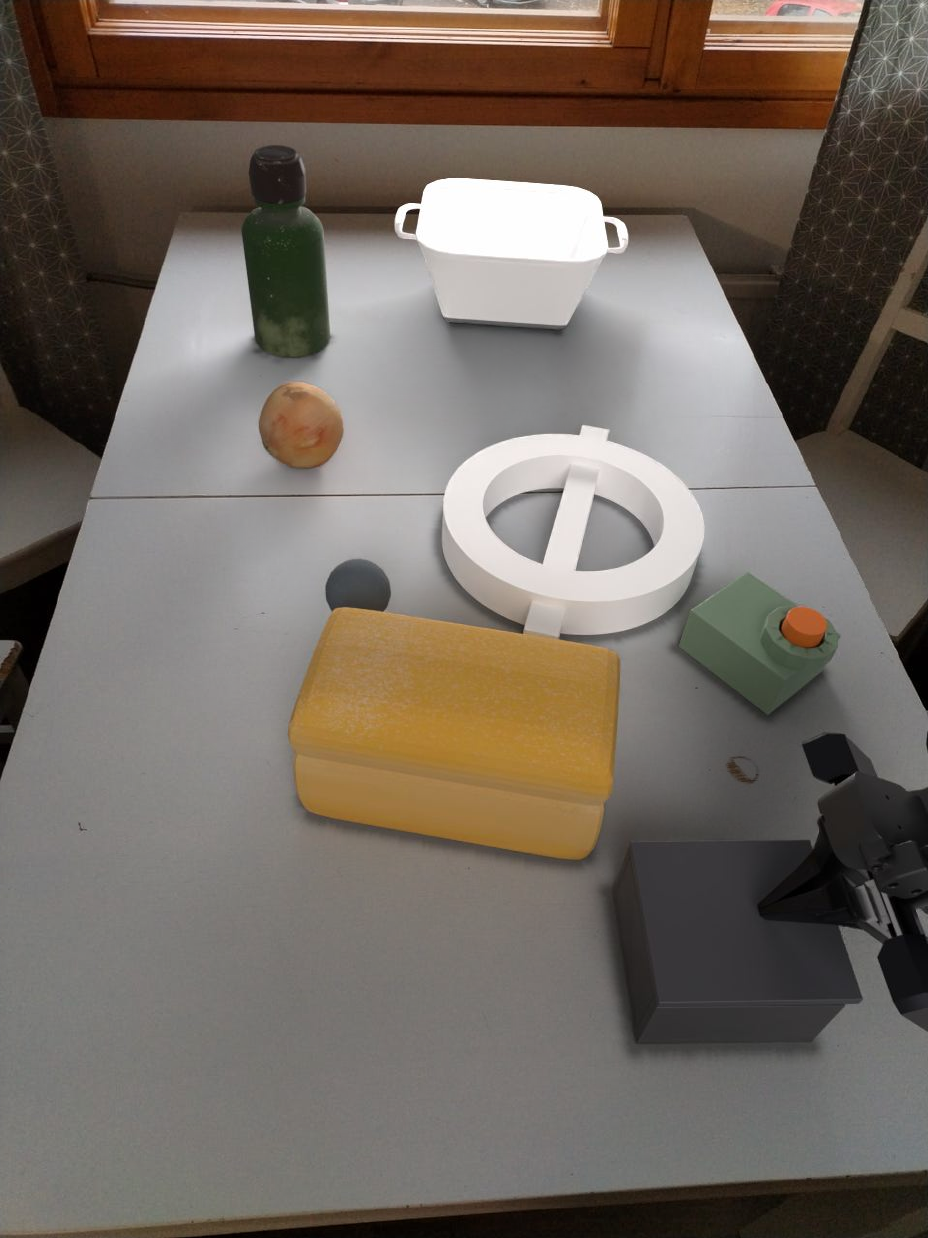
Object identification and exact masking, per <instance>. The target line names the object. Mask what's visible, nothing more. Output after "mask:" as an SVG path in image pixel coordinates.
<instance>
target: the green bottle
mask: <svg viewBox="0 0 928 1238" xmlns="http://www.w3.org/2000/svg"><path fill="white" fill-rule="evenodd" d="M306 172H307V171H306V168H305V165H304V162H303V158H302V157H301V155H300V154H298V153H297V150H295V149H294V148H292V147H290V146H288V145H287V146H286V145H282V144H281V145H280V144H279V145H278V144H274V145H273V144H271V145H263V146H260V147H258V148H256V149H255V150H254V152H253V153H252V155H251V157H250V161H249V169H248V177H249V178H248V179H249V184H250V190H251V195H252V196H253V199H254V204H255V205H256V206H258V207H257V208H254V209H253V210H251V211H250V212H249V214H248V215H247V216H245V219H244V221H243V223H242V225H241V226H242V227H241V231H240V232H241V238H242V247H243V254H244V262H245V269H246V277H247V279H246V280H247V285H248V293H249V301H250V302H249V303H250V309H251V310H250V311H251V317H252V326H253V333H254V339H255V344H256V345H257V346H258V347H259V348H260V349H261V351H264V352H265V353H267V354H270V355H272V356H275V357H280V358H292V359H294V358H296V359H297V358H303V357H307V356H312V355H314V354H317V353H319V352H320V351H321V350H323V349H324V348H326V347H327V346H328V345H329V343H330V339H331V329H330V328H331V327H330V312H329V311H330V310H329V297H328V280H327V279H328V277H327V263H326V247H325V245H326V244H325V234H324V233H325V231H324V226H323V224H322V222H321V219H319V218H318V217H317V215H316V214H314V212H312V211H311V209H309V208H307V207H305V206H303V205H304V204H305V203H306V194H307V178H306V177H307V176H306Z"/></svg>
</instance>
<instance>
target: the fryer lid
mask: <svg viewBox="0 0 928 1238" xmlns="http://www.w3.org/2000/svg"><path fill="white" fill-rule="evenodd" d="M628 847H629V852H630V858H631V863H632V869H633V875H634V880H635V886H636V892H637V898H638V903H639V909H640V915H641V920H642V926H643V932H644V938H645V943H646V949H647V955H648V960H649V966H650V972H651V978H652V983H653V989H654V995H655V1001H656V1006H657V1007H705V1006H764V1005H823V1004H845V1005H859V1004H860V1003H862V1001H863V1000H864V997H863V995H862V991H861V989H860V987H859V983H858V980H857V976H856V974H855V971H854V967H853V965H852V962H851V959H850V956H849V953H848V950H847V947H846V944H845V941H844V938H843V935H842V931H841V929H840V926H837V925H829V924H815V923H800V922H785V921H770V920H765V919H763V918H762V917H760V915H759V911H758V908H757V904H758V903H759V902H760V901H761V900H763V899H764V898H765V897H766V896H767V895H768V894H769V893H770V892H771V891H772V890H773V889H775V888H776V887H777V886H778V885H779V884H780V883H781V882H782V881H783V880H784V879H785V878H787V877H788V876H789V875H790V874H791V873H792V872H793V871H794V870H795V869H796V868H797V867H798V866H799V865H800V864H801V863H802V862H803V861H804V860H805V859H806V857H807V856H808V855H809V854H810V853H811V851H812V850H813V848H814V847H813V845H812V841H811V840H810V839H751V840H750V839H747V840H745V839H744V840H743V839H742V840H740V839H739V840H737V839H736V840H733V839H732V840H730V839H729V840H631V841H629V845H628Z"/></svg>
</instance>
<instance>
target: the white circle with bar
mask: <svg viewBox="0 0 928 1238" xmlns="http://www.w3.org/2000/svg"><path fill="white" fill-rule="evenodd" d="M609 434H610V429H606V428H601V427H597V426H596V427H595V426H592V425H591V426H590V425H586V424H585V425H584V424H582V426H581V429H580V432H579V435H578V434H572V433H571V434H568V433H539V434H531V435H523V436H519V437H513V438H510V439H506V440H503V441H500V442H497V443H494V444H492V445H489V446H487V447H484V448H483V449H481V450H479V451H478V452H476V453H474V454H473V455H471V456H470V457H469V458H467V459H466V460H465V461H464V462H462V463H461V465H460V466H459V467H458V468H457V469H456V470H455V471H454V473H453V474H452V476H451V477H450V479H449V481H448V483H447V485H446V488H445V491H444V494H443V501H442V523H441V525H442V526H441V548H442V553H443V556H444V560H445V562H446V564H447V566H448V568H449V570H450V572H451V575H453V577H454V578H455V579H456V581H457V583H459V584H460V586H461V587H462V588H463V589H464V590H465V591H466V592H467V594H468V595H470V596H471V597H473V599H475V600H476V601H477V602H479V603H480V604H481V605H483V606H484V607H486V608H487V609H489V610H491V611H492V612H494V613H495V614H498V615H499V616H501V617H503V618H505V619H508V620H510V621H511V622H512V621H513V622H515V623H517V624H520V625H522V626H523V625H524V626H523V627H524V628H523V633H522V634H526V635H532V636H539V637H545V638H551V639H557V640H560V635H561V634H563V635H574V636H594V635H596V636H598V635H609V634H615V633H619V632H624V631H628V630H631V629H635V628H638V627H641V626H643V625H646V624H648V623H650V622H652V621H655V620H656V619H658V618H660V617H661V616H662V615H664V614H665V613H667V612H668V611H669V610H671V609H672V608H673V607H674V606H675V605H676V604H677V603H678V602H679V601H680V600H681V598H682V597H683V596H684V594H685V593H686V591H687V589H688V588H689V585H690V584H691V581H692V578H693V574H694V572H695V569H696V565H697V562H698V559H699V556H700V554H701V550H702V547H703V544H704V540H705V539H704V538H705V521H704V516H703V512H702V510H701V507H700V505H699V503H698V501H697V499H696V498H695V496H694V494H693V493H692V492H691V490H690V489H689V487H688V486H687V485H686V483H684V482H683V481H682V480H681V479H680V478H679V477H678V476H677V475H676V474H675V473H673V472H672V471H671V470H669V468H667V467H666V466H664V465H663V464H662V463H660V462H658V461H657V460H655V459H654V458H652V457H650V456H648V455H646V454H645V453H642V452H640V451H637V450H635V449H633V448H630V447H629V446H625V445H623V444H619V443H616V442H613V441H610V440H608V439H609V436H610V435H609ZM544 489H545V490H547V489H563V492H562V495H561V499H560V502H559V504H558V505H559V506H558V509H557V512H556V516H555V519H554V522H553V527H552V530H551V534H550V537H549V540H548V544H547V546H546V547H547V548H546V551H545V555H544V558H543V562H542V563H540V562H538V561H534V560H532V559H531V558H528V557H526V556H524V555H521V554H520V553H518V552H517V551H515V550H513V549H512V548H511V547H509V546H508V545H506V543H504V542H503V541H502V540H501V539H500V538H499V537H498V536H497V534H495V532H494V531H493V530H492V528H491V527H490V525H489V523H488V520H487V518H488V516H489V515H490V513H491V512H493V510H494V509H495V508H496V507H498V506H499V505H500V504H501V503H503V502H505V501H507V500H508V499H511V498H513V497H515V496H518V495H521V494H523V493H527V492H531V491H537V490H544ZM595 496H598V497H601V498H604V499H607V500H609V501H611V502H613V503H615V504H617V505H619V506H621V507H622V508H623V509H625V510H627V512H629V513H630V514H632V515H633V516H634V517H636V518H637V519H638V521H639V522H640V523H641V524H642V525H643V526H644V528H645V529H646V531H647V532H648V534H649V536H650V538H651V540H652V543H653V548H652V549H651V550H650V551H649V552H648V553H646V554H645V555H643V556H642V557H640V558H638V559H637V560H635V561H633V562H631V563H628V564H625V565H622V566H618V567H615V568H609V569H603V570H590V571H588V570H587V571H585V570H577V566H578V562H579V558H580V554H581V550H582V546H583V542H584V538H585V533H586V529H587V526H588V521H589V517H590V513H591V511H592V510H591V509H592V506H593V501H594V497H595Z"/></svg>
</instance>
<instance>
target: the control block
mask: <svg viewBox="0 0 928 1238" xmlns="http://www.w3.org/2000/svg"><path fill="white" fill-rule="evenodd" d="M795 607H800V606H799V605H797V604H796V603H795V602H793V601H791V600H790V599H789V598H787V597H786V596H784V595H782V594H781V593H779V591H776V590H775V589H773V587H770V586H769V585H768V584H766V583H765V582H763V581H762V580H760V579H759V578H757V577H756V576H754V575H753V574H752V573H750V572H749V571H747V572H745V573H744V574H742V575H741V576H739V577H738V578H737V579H735V580H733V581H731V583H729V584H727V585H726V586H724V587H723V588H721V589H720V590H718V591H717V592H716V593H714V594H713V595H711V596H710V597H708V598H707V599H705V600H704V601H703V602H701V603H699V604H698V605H696V606H695V607H694V608H692V609H691V610H690V611H689V614H688V617H687V620H686V623H685V626H684V628H683V632H682V635H681V638H680V641H679V644H678V647H679V648H680V649H681V650H682V651H684V652H685V653H686V654H688V655H689V656H690V657H691V658H693V659H694V660H696V661H697V662H698V663H699V664H701V665H702V666H703V667H705V668H706V669H707V670H708V671H710V672H711V673H712V674H714V675H715V676H716V677H718V678H719V679H720V680H721V681H723V682H724V683H725V684H727V685H728V686H729V687H731V688H732V689H733V690H735V691H736V692H737V693H738V694H740V695H741V696H742V697H743V698H744V699H746V700H748V701H749V702H750V703H751V704H753V705H754V706H756V707H757V708H758V709H759V710H760V711H762V712H763V713H765V714H766V715H767V716H768V715H769V716H770V714H771V713H772V712H774V711H775V710H776V709H778V708H779V707H780V706H781V705H782V704H784V703H785V702H786V701H787V700H788V699H789V698H791V697H792V696H794V695H795V694H796V693H797V692H798V691H800V690H801V689H802V688H803V687H805V686H806V685H807V684H808V683H809V682H810V681H812V680H813V679H815V677H817V676H818V675H820V673H822V672H823V671H824V668H825V667H826V665H827V664H829V663H830V662H831V661H832V659H833V658H834V656H835V654H836V652H837V650H838V648H839V647H838V646H839V640H840V638H841V634H840V633H839V632H838V631H837V630H836V628H835V627H834V625H833V623H832V622H831V620H830V619H828V618H827V617H825V616H823V617H824V618H825V620H826V622H827V629H826V631H825V633H824V635H823V637H822V639H821V641H820V643H819V644H818V645H816V646H814V647H811V648H803V647H799V646H796V645H794V644H792V643H791V642H789V641H788V640H787V639H786V638H785V637H784V636H783V634H782V625H783V622H784V620H785V618H786V616H787V614H788V612H789V611H790V610H791V609H793V608H795Z"/></svg>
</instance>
